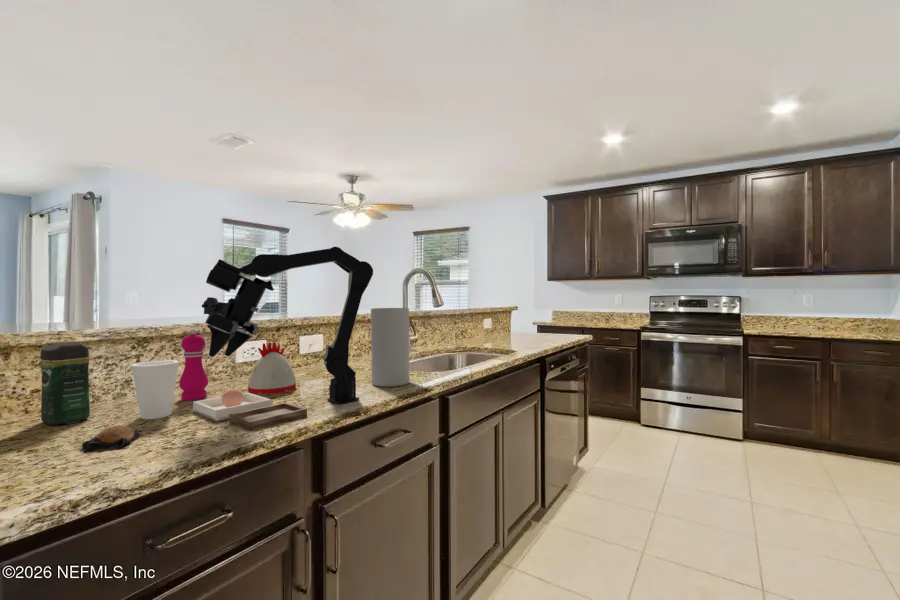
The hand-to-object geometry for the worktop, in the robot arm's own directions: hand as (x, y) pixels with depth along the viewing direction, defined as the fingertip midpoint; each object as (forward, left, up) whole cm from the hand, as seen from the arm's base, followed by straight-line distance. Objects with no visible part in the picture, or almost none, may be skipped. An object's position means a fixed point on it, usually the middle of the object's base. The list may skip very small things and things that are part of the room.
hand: (219, 356), depth 108 cm
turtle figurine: (+23, +7, -15) cm, 29 cm away
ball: (-3, +1, -14) cm, 14 cm away
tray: (-5, +16, -14) cm, 22 cm away
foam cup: (+11, -9, -14) cm, 20 cm away
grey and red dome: (-22, -15, -14) cm, 30 cm away
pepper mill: (-2, -22, -14) cm, 26 cm away
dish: (-3, +1, -14) cm, 14 cm away
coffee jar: (+26, -21, -14) cm, 37 cm away
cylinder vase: (-51, +8, -14) cm, 53 cm away
